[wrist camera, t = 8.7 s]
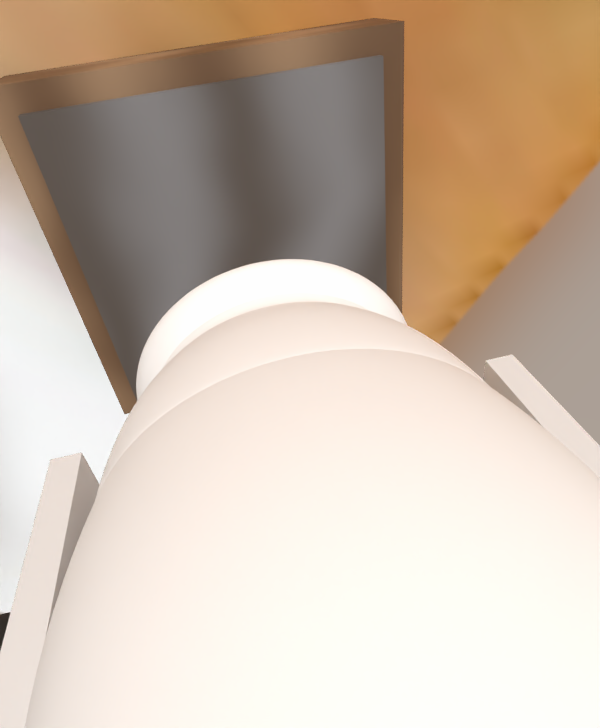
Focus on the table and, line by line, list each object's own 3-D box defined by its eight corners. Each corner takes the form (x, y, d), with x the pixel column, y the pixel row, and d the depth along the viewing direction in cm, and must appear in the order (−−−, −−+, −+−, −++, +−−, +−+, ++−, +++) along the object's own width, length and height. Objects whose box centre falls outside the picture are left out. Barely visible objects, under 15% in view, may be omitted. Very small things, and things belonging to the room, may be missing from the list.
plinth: (128, 375, 31) (124, 418, 27) (4, 76, 21) (-25, 89, 18) (381, 320, 32) (404, 355, 29) (374, 17, 22) (408, 21, 19)
